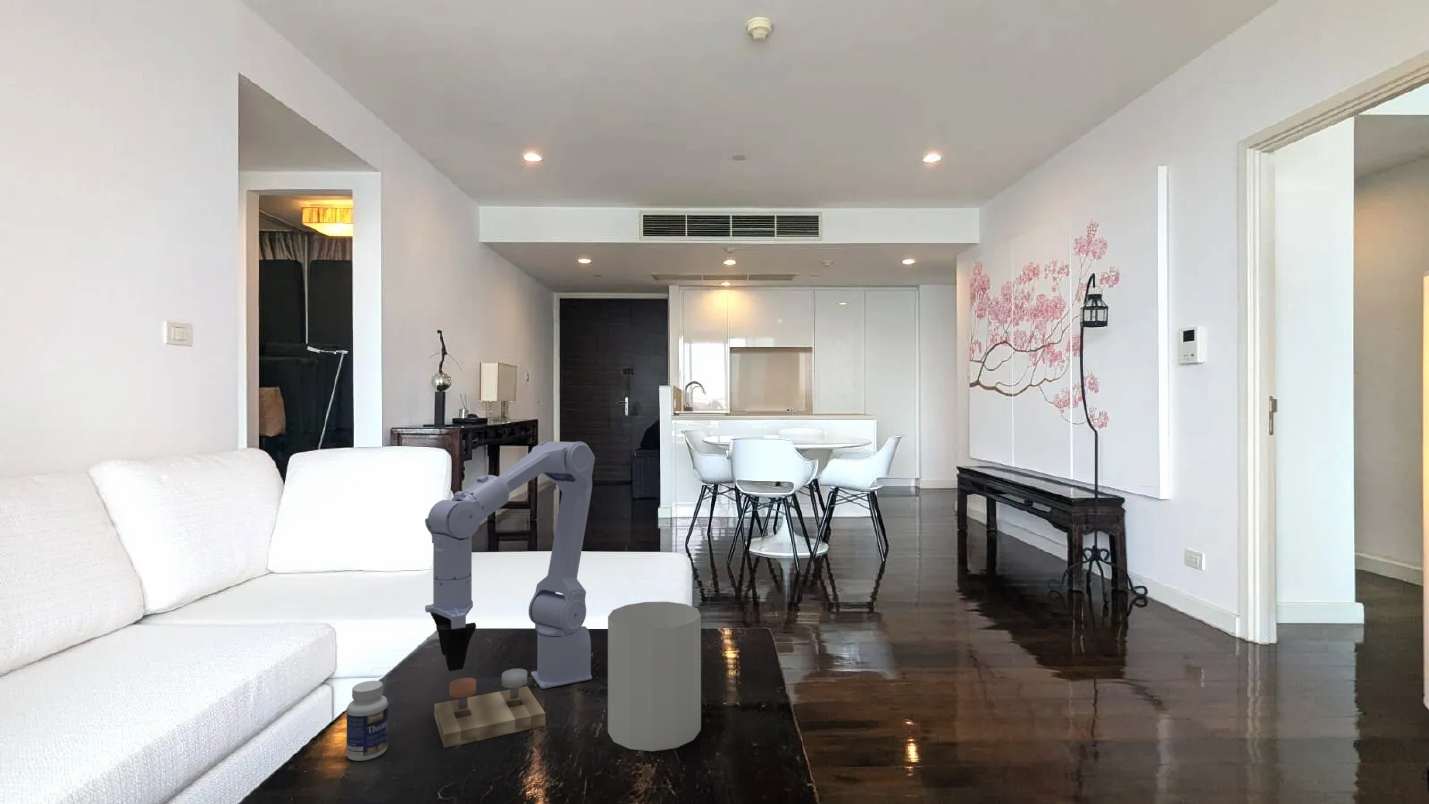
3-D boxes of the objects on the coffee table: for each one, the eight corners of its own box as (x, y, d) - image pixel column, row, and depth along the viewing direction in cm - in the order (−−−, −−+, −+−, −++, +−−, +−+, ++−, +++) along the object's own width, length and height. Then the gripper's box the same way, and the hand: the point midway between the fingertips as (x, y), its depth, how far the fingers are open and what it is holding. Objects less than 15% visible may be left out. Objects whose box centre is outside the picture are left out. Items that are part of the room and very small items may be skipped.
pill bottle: (370, 764, 97) (371, 694, 97) (337, 760, 98) (338, 691, 98) (395, 745, 102) (396, 680, 102) (364, 742, 103) (364, 677, 103)
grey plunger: (523, 690, 115) (523, 667, 115) (529, 699, 111) (529, 675, 111) (499, 695, 113) (499, 671, 113) (504, 704, 109) (504, 679, 109)
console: (527, 697, 119) (527, 686, 119) (545, 725, 108) (545, 713, 108) (434, 716, 112) (434, 704, 112) (444, 748, 101) (444, 734, 101)
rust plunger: (473, 700, 111) (474, 675, 111) (478, 709, 107) (478, 684, 107) (447, 705, 109) (447, 680, 109) (451, 715, 105) (451, 689, 105)
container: (599, 718, 111) (599, 607, 112) (682, 703, 117) (682, 597, 117) (623, 759, 98) (623, 633, 98) (715, 740, 104) (715, 621, 104)
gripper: (421, 569, 114) (421, 651, 114) (430, 589, 101) (429, 682, 101) (466, 564, 117) (465, 644, 117) (480, 583, 104) (480, 673, 104)
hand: (452, 661), depth 109 cm, fingers open, 7 cm apart
